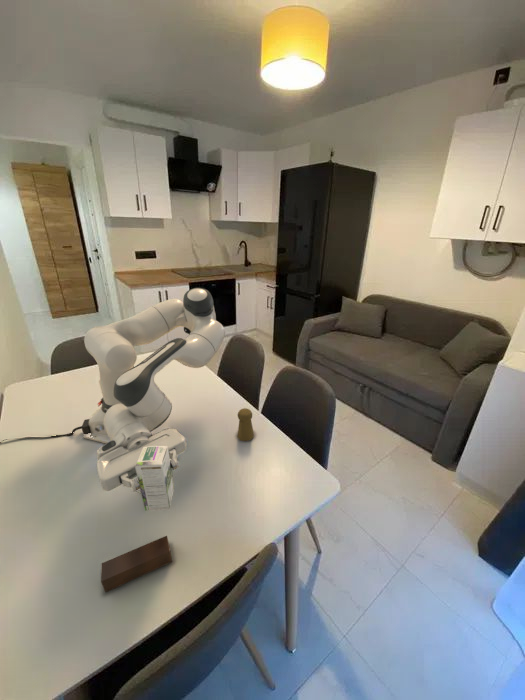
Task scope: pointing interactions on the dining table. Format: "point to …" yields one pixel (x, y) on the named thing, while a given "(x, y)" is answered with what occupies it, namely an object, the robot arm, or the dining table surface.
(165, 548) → the walnut block
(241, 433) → the olive brown hourglass shape
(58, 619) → the dining table surface
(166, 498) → the syrup box
